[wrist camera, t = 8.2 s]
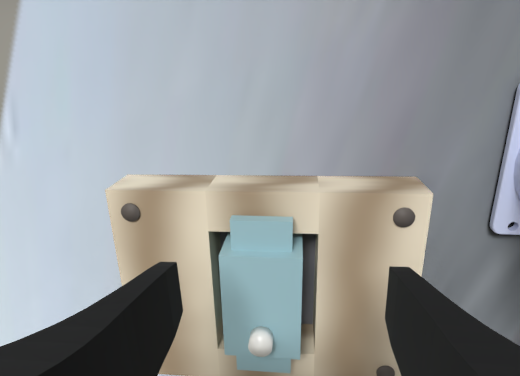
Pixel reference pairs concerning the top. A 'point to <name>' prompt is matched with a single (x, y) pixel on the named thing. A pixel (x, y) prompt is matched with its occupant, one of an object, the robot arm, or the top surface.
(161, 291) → the robot arm
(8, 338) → the top surface
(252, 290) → the servo block
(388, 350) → the plate
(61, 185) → the top surface
